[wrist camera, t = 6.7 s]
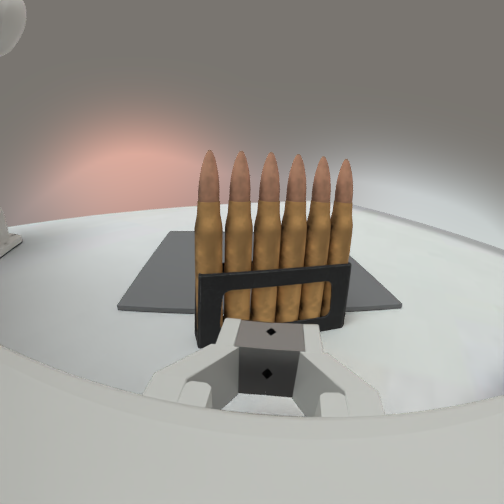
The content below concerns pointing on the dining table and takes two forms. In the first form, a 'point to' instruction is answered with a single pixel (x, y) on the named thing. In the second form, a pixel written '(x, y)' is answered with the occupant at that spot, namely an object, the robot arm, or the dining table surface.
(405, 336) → the dining table surface
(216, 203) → the ammunition clip
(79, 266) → the dining table surface
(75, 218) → the dining table surface
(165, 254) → the slate mat
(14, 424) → the robot arm
